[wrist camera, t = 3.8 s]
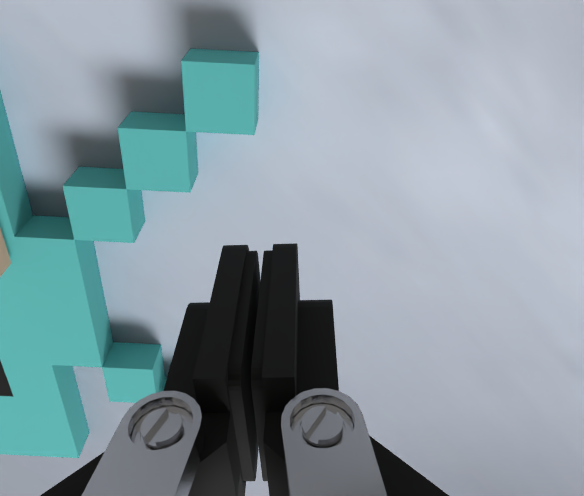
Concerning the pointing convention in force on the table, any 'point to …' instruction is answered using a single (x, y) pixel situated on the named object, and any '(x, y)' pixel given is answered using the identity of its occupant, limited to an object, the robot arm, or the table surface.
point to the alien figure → (83, 261)
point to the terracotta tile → (3, 255)
